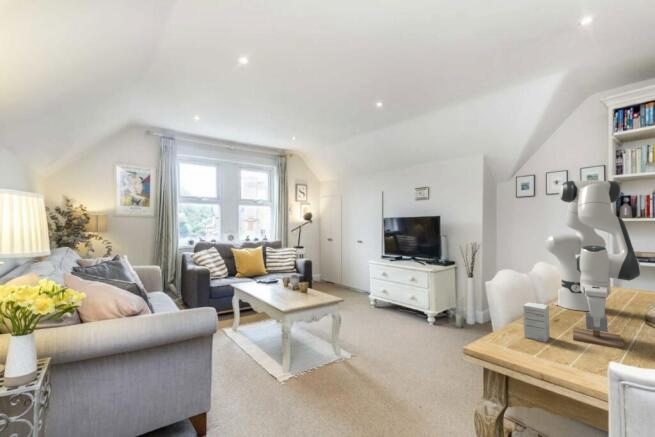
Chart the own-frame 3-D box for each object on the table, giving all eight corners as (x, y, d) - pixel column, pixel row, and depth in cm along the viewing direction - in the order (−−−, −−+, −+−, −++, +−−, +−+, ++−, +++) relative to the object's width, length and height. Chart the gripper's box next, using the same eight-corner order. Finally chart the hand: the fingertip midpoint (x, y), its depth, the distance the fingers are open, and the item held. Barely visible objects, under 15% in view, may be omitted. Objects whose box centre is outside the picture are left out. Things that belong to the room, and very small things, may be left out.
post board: (573, 329, 126) (572, 308, 126) (619, 337, 117) (618, 314, 117) (573, 339, 115) (572, 316, 115) (624, 349, 106) (623, 323, 106)
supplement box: (528, 332, 124) (527, 301, 124) (550, 337, 118) (549, 304, 119) (523, 337, 118) (522, 305, 119) (546, 342, 113) (545, 308, 113)
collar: (586, 325, 120) (585, 312, 121) (606, 328, 117) (605, 315, 117) (586, 329, 116) (586, 316, 116) (607, 332, 112) (607, 318, 112)
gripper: (583, 282, 127) (584, 316, 126) (584, 291, 111) (586, 329, 111) (604, 284, 123) (605, 318, 122) (608, 293, 107) (609, 333, 106)
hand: (596, 323), depth 116 cm, fingers closed on collar, 6 cm apart
